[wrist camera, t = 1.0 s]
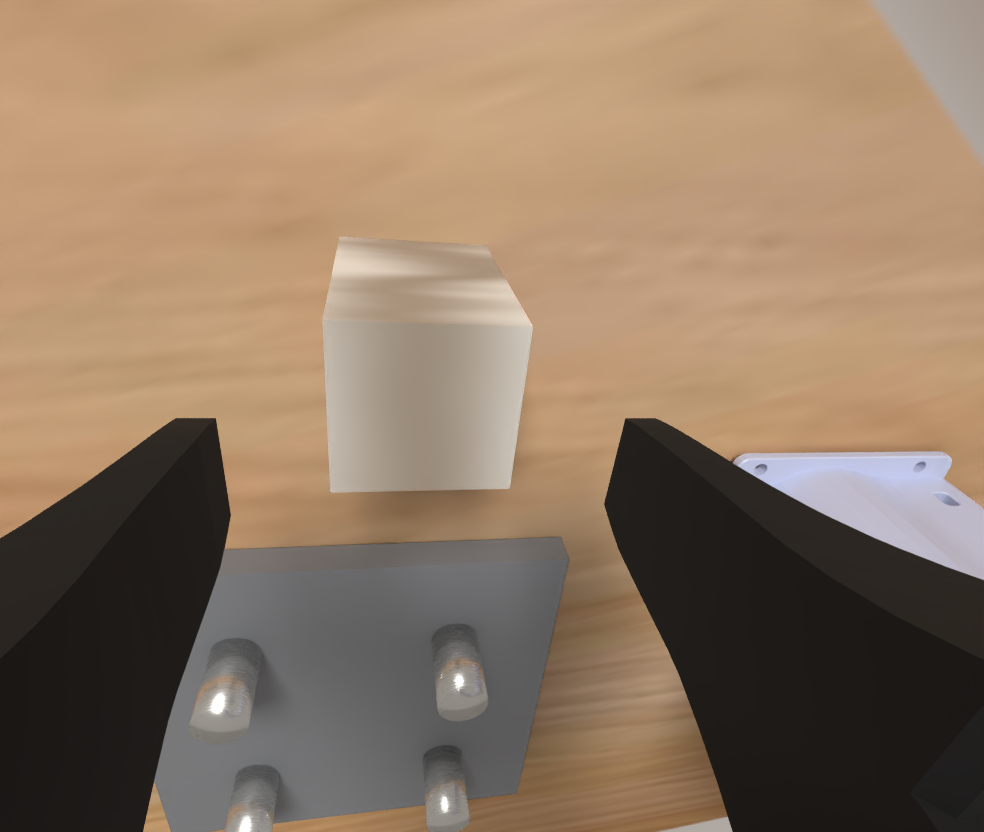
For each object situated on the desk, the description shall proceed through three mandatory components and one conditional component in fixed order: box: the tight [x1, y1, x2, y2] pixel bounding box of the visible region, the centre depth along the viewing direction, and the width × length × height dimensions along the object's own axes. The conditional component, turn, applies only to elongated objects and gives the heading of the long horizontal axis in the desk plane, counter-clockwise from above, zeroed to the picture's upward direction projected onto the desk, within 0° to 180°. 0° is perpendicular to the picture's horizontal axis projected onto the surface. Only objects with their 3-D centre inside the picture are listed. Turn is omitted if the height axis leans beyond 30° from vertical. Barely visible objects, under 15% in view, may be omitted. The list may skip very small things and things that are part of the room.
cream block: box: [323, 237, 533, 493], centre depth 15 cm, size 4×4×6 cm
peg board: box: [154, 537, 569, 832], centre depth 24 cm, size 16×16×4 cm
